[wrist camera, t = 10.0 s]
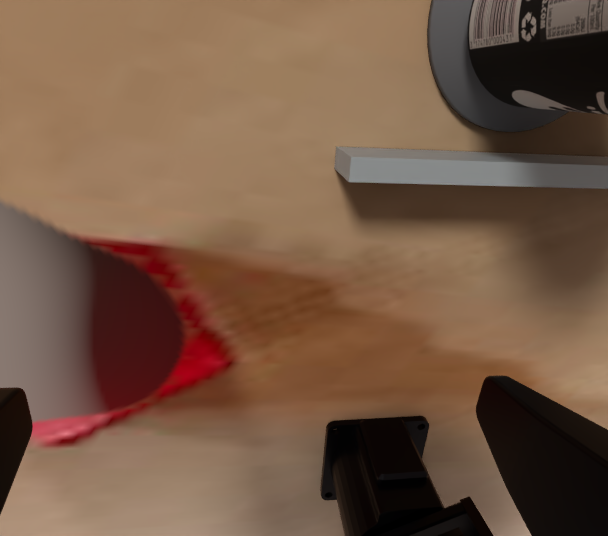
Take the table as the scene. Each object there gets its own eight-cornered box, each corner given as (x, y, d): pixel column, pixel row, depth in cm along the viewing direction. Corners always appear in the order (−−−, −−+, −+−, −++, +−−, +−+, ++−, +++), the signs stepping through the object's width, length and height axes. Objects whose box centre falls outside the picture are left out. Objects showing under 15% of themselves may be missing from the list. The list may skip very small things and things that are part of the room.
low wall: (634, 177, 22) (690, 190, 19) (334, 168, 20) (348, 182, 17) (642, 157, 21) (699, 168, 19) (336, 146, 19) (351, 156, 16)
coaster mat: (587, 134, 21) (593, 135, 20) (412, 126, 19) (415, 127, 19) (658, -97, 17) (667, -101, 17) (449, -124, 16) (454, -130, 15)
